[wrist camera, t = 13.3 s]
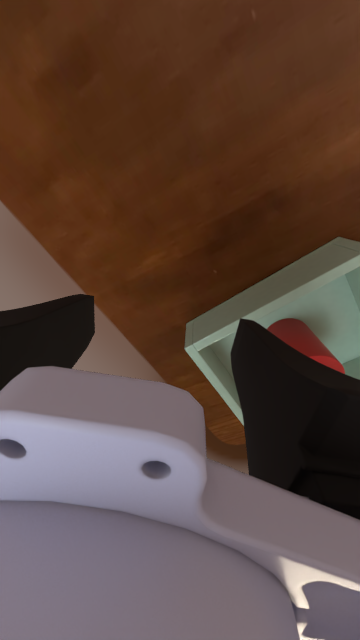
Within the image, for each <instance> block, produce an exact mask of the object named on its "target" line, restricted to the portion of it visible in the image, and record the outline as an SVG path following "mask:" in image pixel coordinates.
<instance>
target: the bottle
mask: <svg viewBox="0 0 360 640" xmlns="http://www.w3.org/2000/svg"><path fill="white" fill-rule="evenodd" d="M267 330H268V331H270V332H271V333H272V334H274V335H275V336H276V337H278V338H279V339H281V340H282V341H284V342H285V343H286V344H288V345H290V346H291V347H293V348H294V349H296V350H297V351H299V352H301V353H302V354H304V355H306V356H308V357H310V358H312V359H313V360H315V361H317V362H319V363H321V364H323V365H325V366H328V367H330V368H332V369H334V370H336V371H339V372H341V373H343V374H345V370H344V367H343V366H342V364H341V363H340V362H339V361H338V360H337V358H336V357H335V356H334V355H333V354H332V353H331V352H330V351H329V350H328V348H327V347H326V346H325V345H324V344H323V343H322V342H321V341H320V340H319V338H318V337H317V336H316V335H315V334H314V333H313V332H312V331H311V330H310V328H309V327H308V326H307V325H306V324H305V323H304V322H302V321H300V320H298V319H293V318H286V319H281V320H278V321H276V322H274V323H273V324H271V325H270V326H269V327H268V328H267Z"/></svg>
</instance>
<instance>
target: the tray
mask: <svg viewBox="0 0 360 640" xmlns="http://www.w3.org/2000/svg"><path fill="white" fill-rule="evenodd" d="M240 318H242V319H248V320H253V321H255V322H257V323H258V324H260V325H261V326H263V327H264V328H266V329H267V328H268V327H269V326H270V325H271V324H273V323H274V322H276V321H278V320H281V319H286V318H293V319H298V320H300V321H302V322H304V323H305V324H306V325H307V326H308V327H309V328H310V330H311V331H312V332H313V333H314V334H315V335H316V336H317V337H318V338H319V340H320V341H321V342H322V343H323V344H324V345H325V346H326V347H327V348H328V350H329V351H330V352H331V353H332V354H333V355H334V356H335V357H336V358H337V360H338V361H339V362H340V363H341V364H342V366H343V367H344V370H345V374H346V375H348V376H351V377H353V378H356V379H359V380H360V242H358V241H354V240H350V239H346V238H342V237H337V238H335V239H334V240H332V241H330V242H328V243H327V244H325V245H323V246H321V247H320V248H318V249H316V250H314V251H313V252H311V253H309V254H307V255H306V256H304V257H302V258H300V259H299V260H297V261H295V262H293V263H292V264H290V265H288V266H286V267H285V268H283V269H281V270H279V271H278V272H276V273H274V274H272V275H271V276H269V277H267V278H265V279H264V280H262V281H260V282H258V283H257V284H255V285H253V286H251V287H250V288H248V289H246V290H244V291H243V292H241V293H239V294H237V295H236V296H234V297H232V298H230V299H229V300H227V301H225V302H223V303H222V304H220V305H218V306H216V307H215V308H213V309H211V310H209V311H208V312H206V313H204V314H202V315H200V316H199V317H197V318H195V319H193V320H192V321H190V322H188V323H186V335H185V348H184V349H185V350H186V351H187V353H188V354H189V355H190V357H191V358H192V359H193V361H194V362H195V363H196V364H197V366H198V367H199V368H200V370H201V371H202V372H203V374H204V375H205V376H206V377H207V379H208V380H209V381H210V383H211V384H212V385H213V387H214V388H215V389H216V390H217V392H218V393H219V394H220V396H221V397H222V398H223V400H224V401H225V402H226V403H227V405H228V406H229V407H230V409H231V410H232V411H233V412H234V414H235V415H236V416H237V418H238V419H239V420H240V422H241V423H242V424H243V425H244V422H243V415H242V410H241V405H240V401H239V397H238V393H237V389H236V385H235V381H234V377H233V373H232V367H231V354H230V353H231V349H232V346H233V342H234V338H235V335H236V331H237V328H238V324H239V321H240Z"/></svg>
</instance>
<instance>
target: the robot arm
mask: <svg viewBox="0 0 360 640" xmlns="http://www.w3.org/2000/svg"><path fill="white" fill-rule="evenodd" d="M94 326H95V324H94V296H90V295H84V294H78V295H72V296H68V297H64V298H60V299H56V300H52V301H49V302H45V303H41V304H36V305H32V306H28V307H23V308H18V309H13V310H7V311H0V640H360V380H359V379H356V378H353V377H351V376H348V375H346V374H343V373H341V372H339V371H336V370H334V369H332V368H330V367H328V366H325V365H323V364H321V363H319V362H317V361H315V360H313V359H312V358H310V357H308V356H306V355H304V354H302V353H301V352H299V351H297V350H296V349H294V348H293V347H291V346H290V345H288V344H286V343H285V342H284V341H282V340H281V339H279V338H278V337H276V336H275V335H274V334H272V333H271V332H270V331H268V330H267V329H266V328H264V327H263V326H261V325H260V324H258V323H257V322H255V321H253V320H248V319H242V318H240V321H239V324H238V328H237V331H236V335H235V338H234V342H233V346H232V349H231V353H230V354H231V367H232V373H233V377H234V381H235V385H236V389H237V393H238V397H239V401H240V405H241V410H242V415H243V422H244V429H245V437H246V447H247V457H248V468H249V475H248V474H245V473H243V472H240V471H238V470H236V469H233V468H231V467H228V466H226V465H223V464H221V463H219V462H216V461H213V460H211V459H209V458H206V434H205V420H204V411H203V407H202V406H201V405H200V404H199V403H198V402H197V401H196V399H195V398H194V397H193V396H192V395H191V394H190V393H189V392H188V391H185V390H182V389H180V388H177V387H174V386H171V385H169V384H166V383H162V382H156V381H149V380H142V379H136V378H129V377H122V376H115V375H109V374H102V373H95V372H88V371H82V370H75V369H72V367H73V366H74V365H75V363H76V362H77V361H78V359H79V358H80V357H81V355H82V354H83V352H84V351H85V350H86V348H87V347H88V345H89V343H90V341H91V339H92V337H93V335H94V333H95V327H94Z"/></svg>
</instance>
